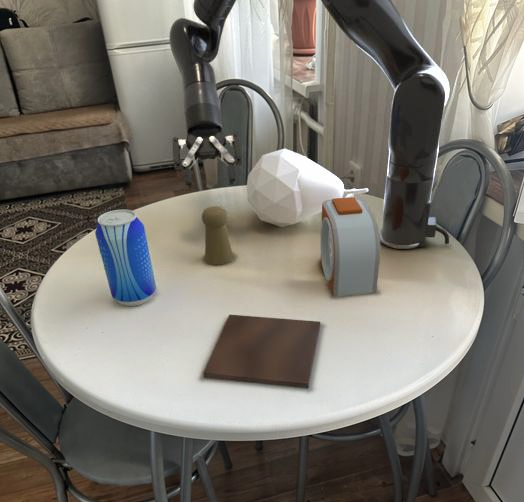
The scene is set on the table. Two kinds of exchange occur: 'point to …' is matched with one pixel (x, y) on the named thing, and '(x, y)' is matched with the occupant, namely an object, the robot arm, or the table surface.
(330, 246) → the alarm clock
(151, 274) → the beer can
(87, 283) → the table surface
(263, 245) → the table surface
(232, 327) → the place mat
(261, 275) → the table surface
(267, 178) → the pear ornament
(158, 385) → the table surface
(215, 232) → the olive game pawn
